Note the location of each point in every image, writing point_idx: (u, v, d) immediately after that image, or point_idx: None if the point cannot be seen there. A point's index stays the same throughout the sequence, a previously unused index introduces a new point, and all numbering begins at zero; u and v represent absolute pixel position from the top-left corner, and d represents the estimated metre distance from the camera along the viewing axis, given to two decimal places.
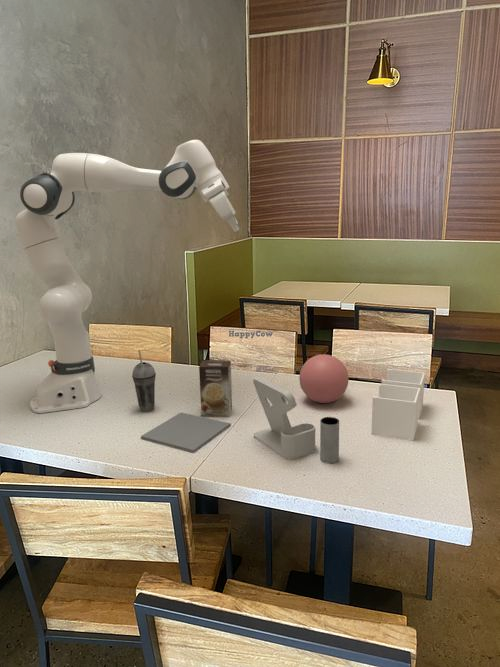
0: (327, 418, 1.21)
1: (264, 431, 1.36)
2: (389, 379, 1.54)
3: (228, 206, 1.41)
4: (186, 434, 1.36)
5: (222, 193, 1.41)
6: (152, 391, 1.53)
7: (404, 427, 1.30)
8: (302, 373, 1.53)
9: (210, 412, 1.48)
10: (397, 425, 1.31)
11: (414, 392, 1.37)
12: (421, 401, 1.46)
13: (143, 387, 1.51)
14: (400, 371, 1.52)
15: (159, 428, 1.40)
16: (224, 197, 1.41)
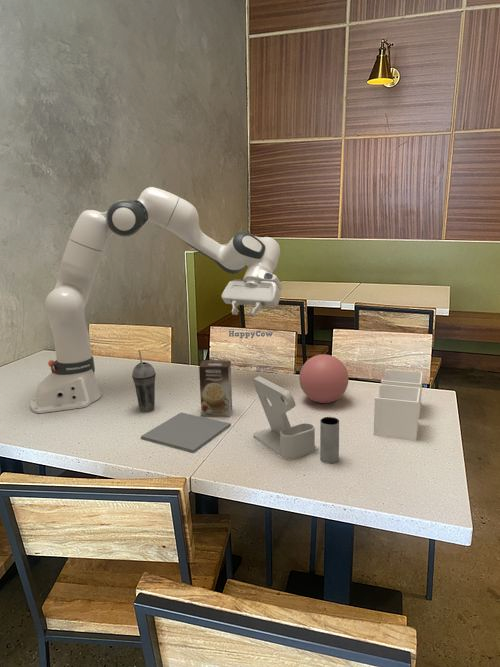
0: (327, 418, 1.21)
1: (263, 431, 1.36)
2: (387, 379, 1.54)
3: (278, 300, 1.59)
4: (186, 434, 1.36)
5: None
6: (152, 391, 1.53)
7: (406, 427, 1.30)
8: (302, 373, 1.53)
9: (210, 412, 1.48)
10: (399, 425, 1.30)
11: (414, 392, 1.37)
12: (420, 401, 1.46)
13: (143, 387, 1.51)
14: (398, 371, 1.52)
15: (159, 428, 1.40)
16: (280, 294, 1.60)
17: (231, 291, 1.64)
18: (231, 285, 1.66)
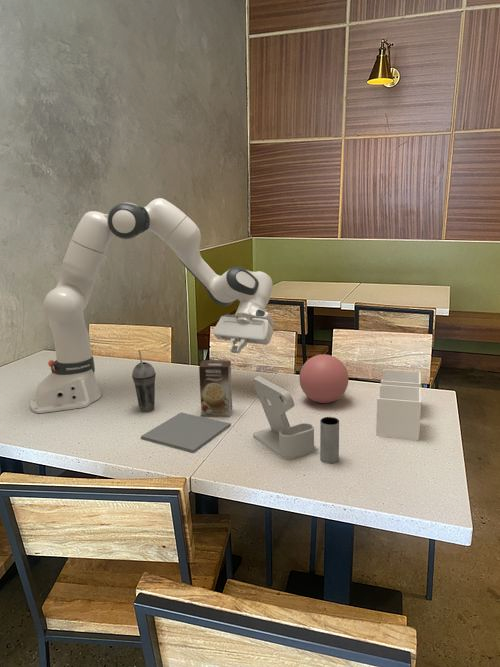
0: (327, 418, 1.21)
1: (263, 431, 1.37)
2: (385, 379, 1.54)
3: (270, 338, 1.56)
4: (186, 434, 1.36)
5: None
6: (152, 391, 1.53)
7: (409, 427, 1.30)
8: (302, 373, 1.53)
9: (210, 412, 1.48)
10: (402, 425, 1.30)
11: (415, 392, 1.38)
12: None
13: (143, 387, 1.51)
14: (396, 371, 1.52)
15: (159, 428, 1.40)
16: (272, 331, 1.58)
17: (223, 327, 1.62)
18: (223, 321, 1.63)
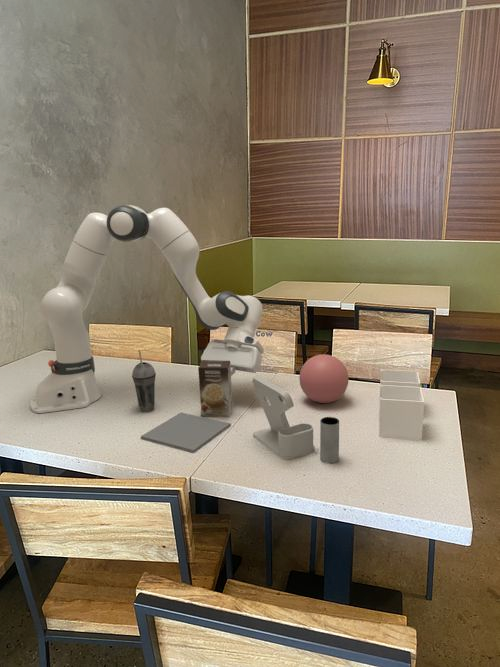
0: (327, 418, 1.21)
1: (263, 430, 1.37)
2: (382, 379, 1.54)
3: None
4: (186, 434, 1.36)
5: (261, 355, 1.54)
6: (152, 391, 1.53)
7: (412, 427, 1.30)
8: (302, 373, 1.53)
9: (210, 412, 1.48)
10: (405, 426, 1.30)
11: (415, 391, 1.38)
12: None
13: (143, 387, 1.51)
14: (393, 371, 1.52)
15: (159, 428, 1.40)
16: (261, 358, 1.54)
17: (211, 353, 1.58)
18: (211, 347, 1.59)
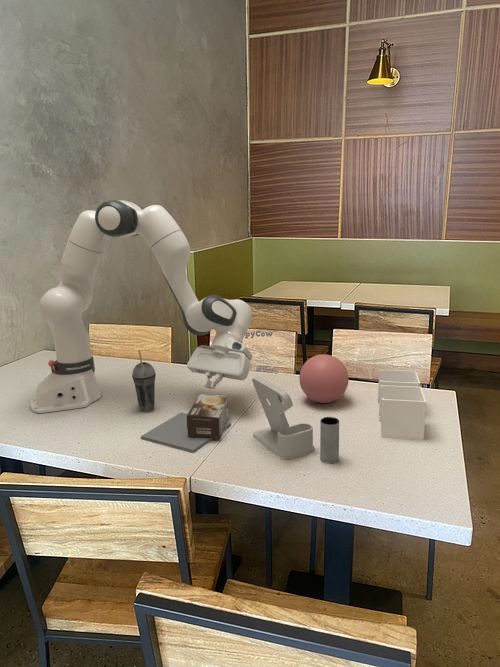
0: (327, 418, 1.21)
1: (263, 430, 1.37)
2: (381, 379, 1.54)
3: None
4: (186, 434, 1.36)
5: (249, 361, 1.48)
6: (152, 391, 1.53)
7: (414, 427, 1.30)
8: (302, 373, 1.53)
9: None
10: (407, 426, 1.30)
11: (416, 391, 1.38)
12: None
13: (143, 387, 1.51)
14: (392, 371, 1.52)
15: (159, 428, 1.40)
16: (250, 365, 1.47)
17: (198, 359, 1.51)
18: (197, 353, 1.53)
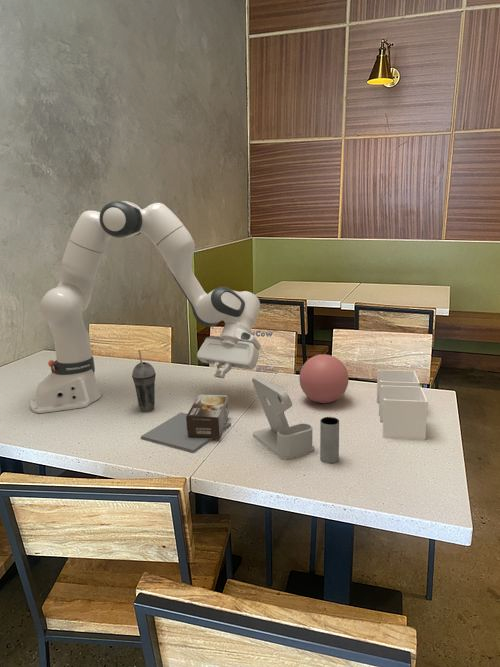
0: (327, 418, 1.21)
1: (263, 430, 1.37)
2: (379, 380, 1.53)
3: (256, 362, 1.49)
4: (186, 434, 1.36)
5: (258, 351, 1.52)
6: (152, 391, 1.53)
7: (416, 427, 1.30)
8: (302, 373, 1.53)
9: None
10: (409, 426, 1.30)
11: (416, 391, 1.38)
12: None
13: (143, 387, 1.51)
14: (390, 371, 1.52)
15: (159, 428, 1.40)
16: (258, 355, 1.51)
17: (207, 350, 1.55)
18: (207, 344, 1.56)
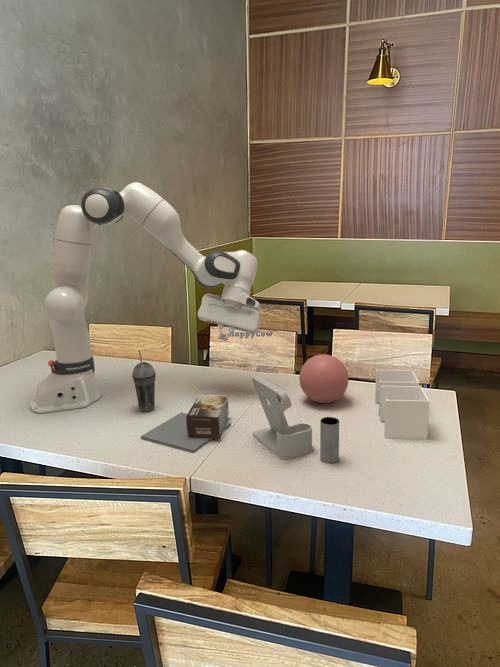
0: (327, 418, 1.21)
1: (263, 430, 1.37)
2: (378, 380, 1.53)
3: (258, 326, 1.59)
4: (186, 434, 1.36)
5: None
6: (152, 391, 1.53)
7: (417, 427, 1.30)
8: (302, 373, 1.53)
9: None
10: (411, 426, 1.30)
11: (416, 391, 1.38)
12: None
13: (143, 387, 1.51)
14: (389, 371, 1.52)
15: (159, 428, 1.40)
16: None
17: (209, 310, 1.58)
18: (208, 303, 1.58)
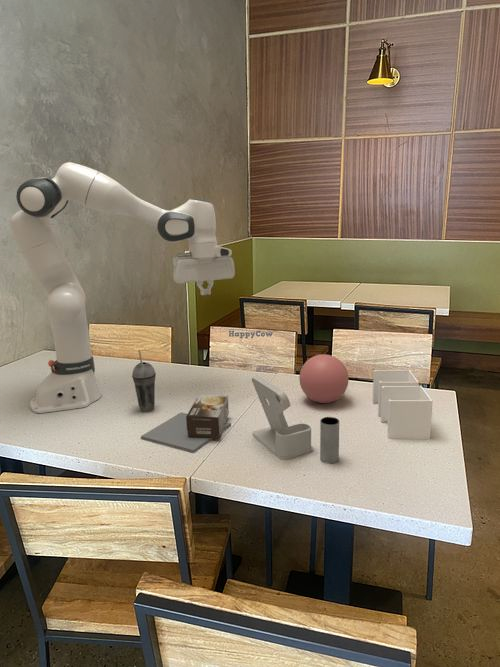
0: (327, 418, 1.21)
1: (263, 430, 1.37)
2: (375, 380, 1.53)
3: None
4: (186, 434, 1.36)
5: None
6: (152, 391, 1.53)
7: (421, 427, 1.30)
8: (302, 373, 1.53)
9: None
10: (414, 426, 1.30)
11: (416, 390, 1.38)
12: None
13: (143, 387, 1.51)
14: (386, 371, 1.52)
15: (159, 428, 1.40)
16: None
17: (187, 273, 1.53)
18: (183, 266, 1.52)
